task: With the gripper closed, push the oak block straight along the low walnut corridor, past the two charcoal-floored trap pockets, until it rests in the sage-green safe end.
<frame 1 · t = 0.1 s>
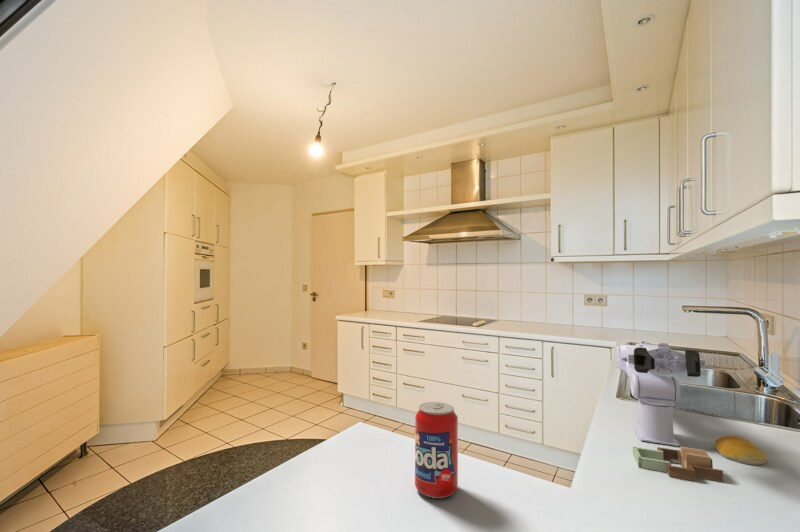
hand: (674, 365, 77), 22 cm above the counter, tool horizontal, fingers open, 7 cm apart
soda can: (436, 491, 68), on the counter
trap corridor: (675, 467, 78), on the counter
bread roll: (739, 458, 83), on the counter
oak block: (695, 471, 76), resting in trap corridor
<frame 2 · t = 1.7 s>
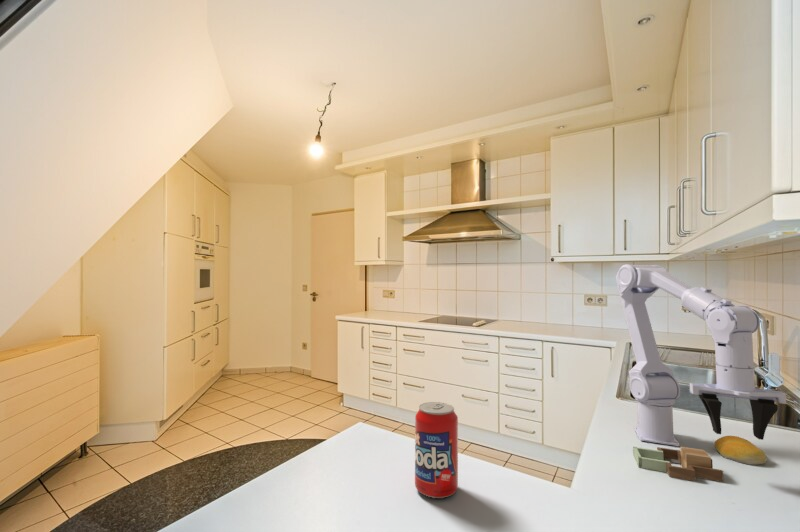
hand: (737, 435, 74), 8 cm above the counter, tool pointing down, fingers open, 6 cm apart
nothing on the counter moved.
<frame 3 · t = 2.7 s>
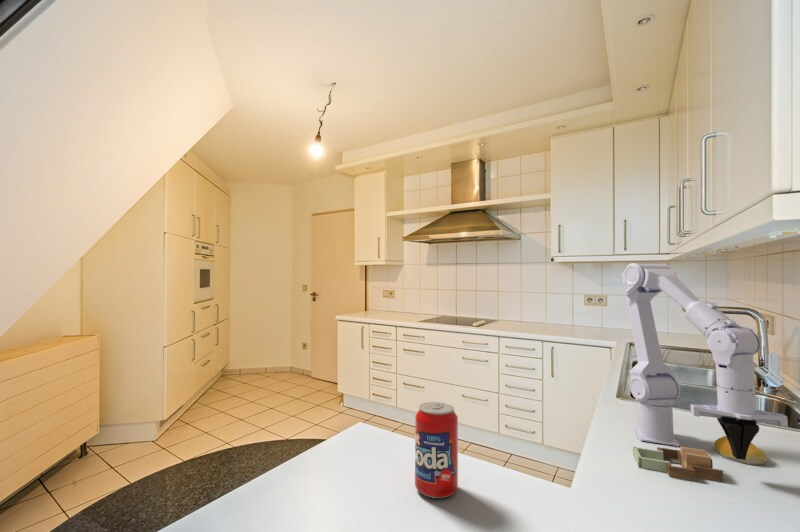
hand: (738, 457, 74), 4 cm above the counter, tool pointing down, fingers closed
nothing on the counter moved.
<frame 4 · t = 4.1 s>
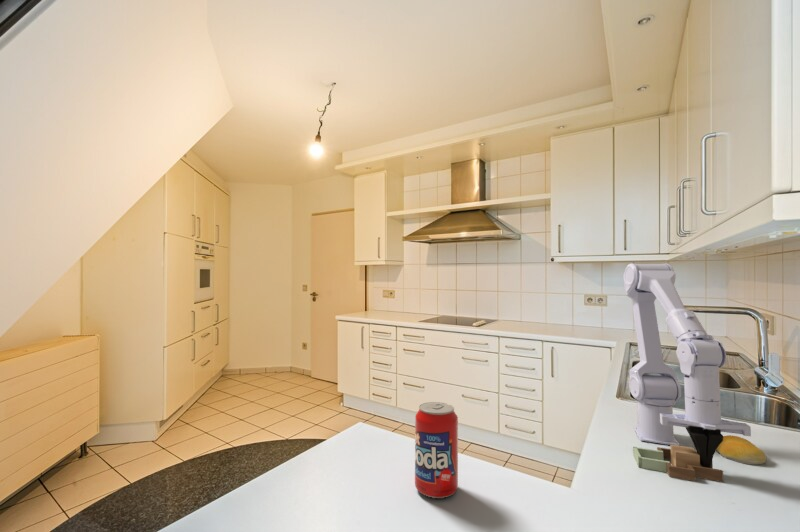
hand: (704, 465, 76), 1 cm above the counter, tool pointing down, fingers closed
oak block: (685, 469, 77), resting in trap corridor, touching gripper
everything else where it was.
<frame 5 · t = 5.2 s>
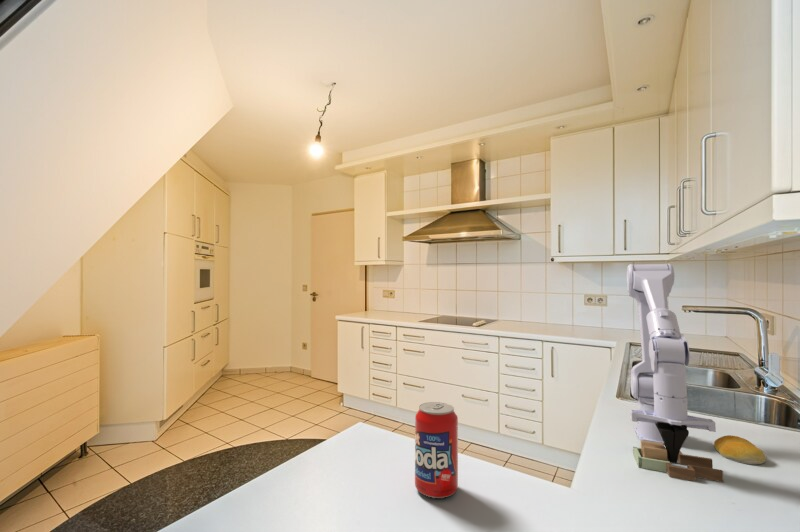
hand: (672, 460, 78), 1 cm above the counter, tool pointing down, fingers closed
oak block: (654, 464, 79), resting in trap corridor, touching gripper
everything else where it was.
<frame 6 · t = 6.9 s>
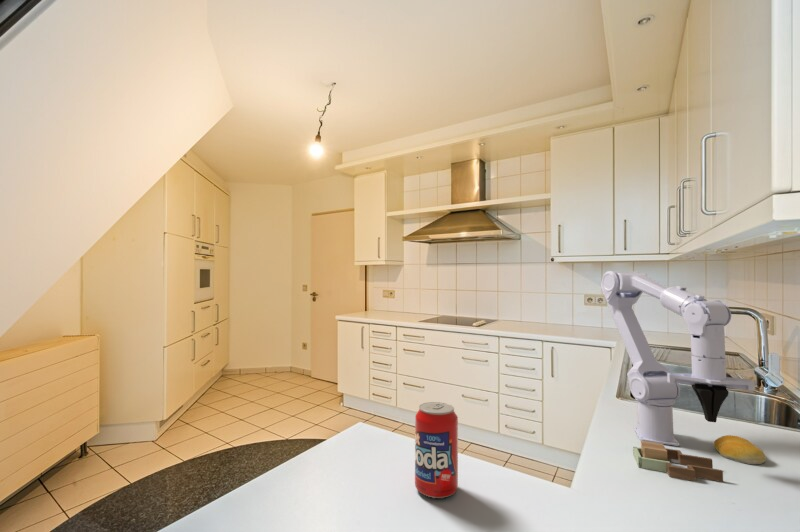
hand: (710, 420, 79), 9 cm above the counter, tool pointing down, fingers closed
oak block: (654, 465, 79), resting in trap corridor
everything else where it was.
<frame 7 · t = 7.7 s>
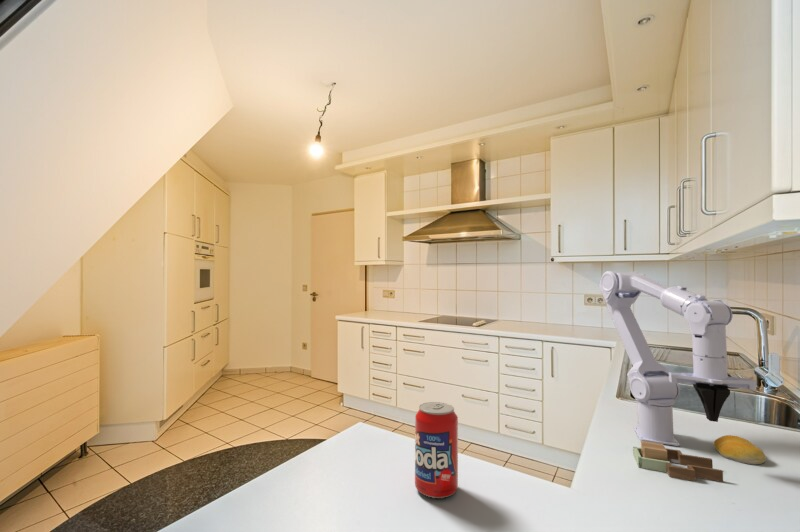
hand: (712, 420, 80), 9 cm above the counter, tool pointing down, fingers closed
nothing on the counter moved.
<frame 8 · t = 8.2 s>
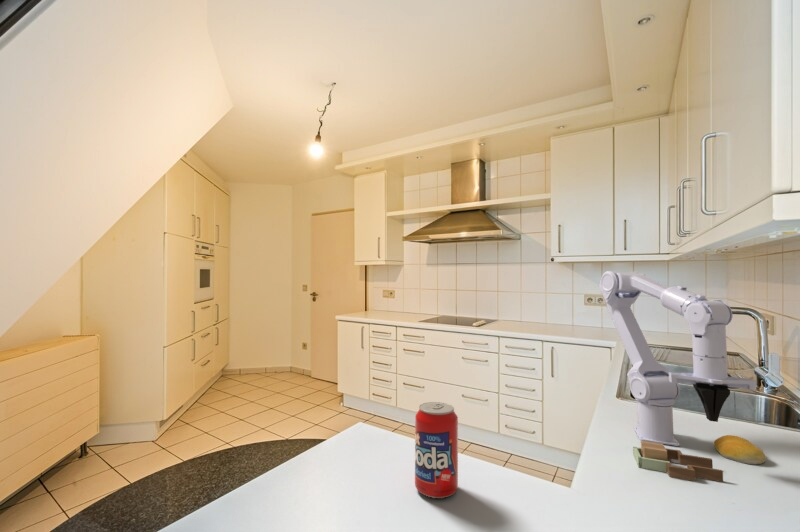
hand: (712, 420, 80), 9 cm above the counter, tool pointing down, fingers closed
nothing on the counter moved.
at the end: oak block 0.5 cm from the target spot, resting in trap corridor; oak block tilted 0° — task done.
